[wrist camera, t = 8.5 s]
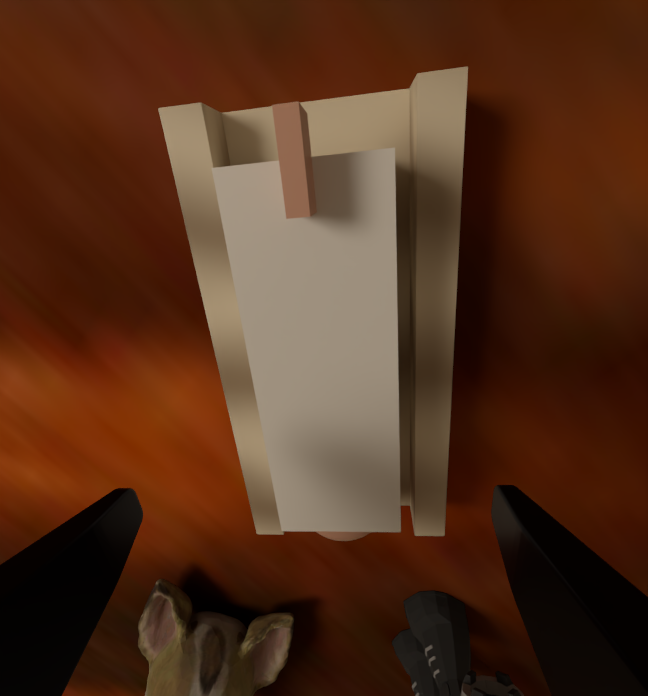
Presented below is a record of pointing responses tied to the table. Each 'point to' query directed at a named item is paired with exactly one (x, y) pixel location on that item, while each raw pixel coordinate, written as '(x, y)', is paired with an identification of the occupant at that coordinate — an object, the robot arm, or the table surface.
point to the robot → (443, 650)
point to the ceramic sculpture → (209, 647)
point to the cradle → (412, 261)
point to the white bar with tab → (320, 326)
